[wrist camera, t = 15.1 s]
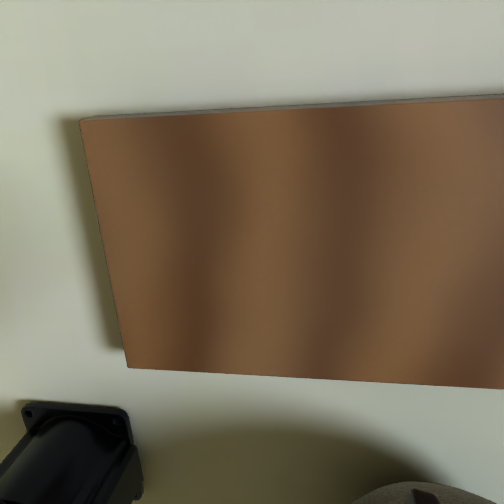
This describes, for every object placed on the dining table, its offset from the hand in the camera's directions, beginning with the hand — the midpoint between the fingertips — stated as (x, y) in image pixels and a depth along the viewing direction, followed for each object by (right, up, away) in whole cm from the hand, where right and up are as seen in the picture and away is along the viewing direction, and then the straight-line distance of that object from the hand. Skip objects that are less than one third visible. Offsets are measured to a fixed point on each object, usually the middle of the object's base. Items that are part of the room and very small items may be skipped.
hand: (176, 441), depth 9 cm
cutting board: (+5, +4, +12) cm, 13 cm away
